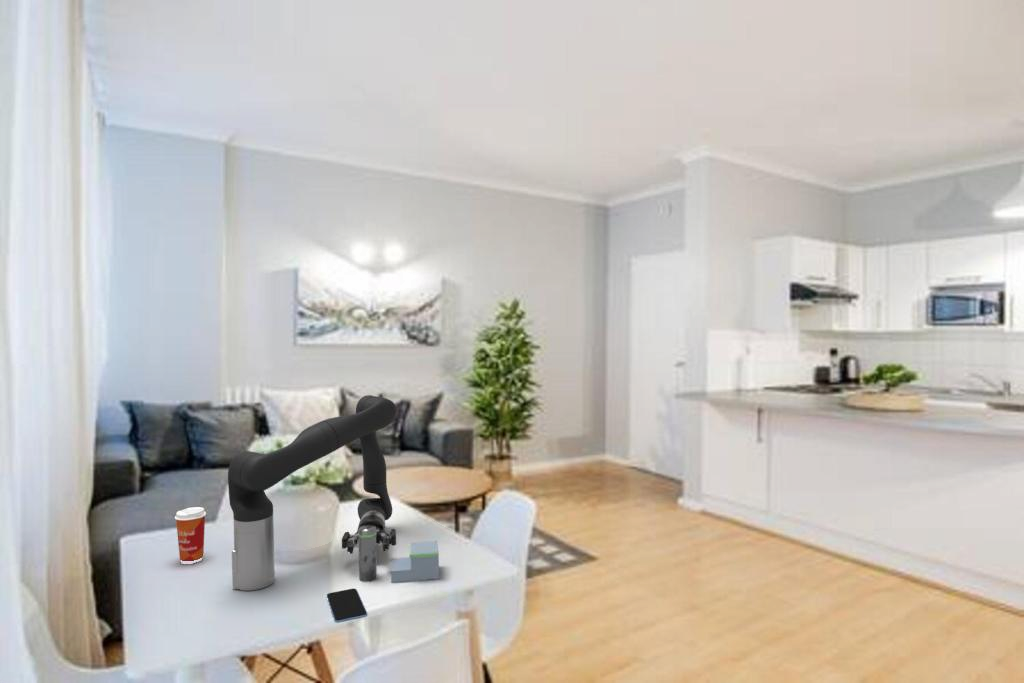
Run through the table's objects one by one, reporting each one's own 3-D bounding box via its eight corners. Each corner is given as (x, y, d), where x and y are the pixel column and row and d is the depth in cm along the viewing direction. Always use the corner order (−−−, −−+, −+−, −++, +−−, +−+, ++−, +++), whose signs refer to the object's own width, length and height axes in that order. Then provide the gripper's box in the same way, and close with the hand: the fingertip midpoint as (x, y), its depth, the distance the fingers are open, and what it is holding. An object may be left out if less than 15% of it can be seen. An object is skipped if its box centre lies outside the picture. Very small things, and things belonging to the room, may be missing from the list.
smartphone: (356, 587, 148) (368, 614, 134) (356, 590, 148) (368, 617, 134) (325, 593, 145) (334, 621, 131) (325, 596, 145) (334, 625, 131)
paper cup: (169, 563, 163) (168, 513, 163) (193, 553, 170) (192, 505, 170) (190, 568, 160) (188, 516, 160) (214, 557, 167) (212, 508, 167)
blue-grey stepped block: (391, 583, 150) (390, 556, 150) (392, 569, 159) (391, 543, 158) (438, 579, 152) (438, 552, 152) (437, 566, 161) (437, 540, 160)
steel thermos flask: (358, 582, 151) (357, 531, 151) (359, 574, 156) (358, 525, 155) (376, 581, 152) (375, 530, 151) (377, 573, 156) (376, 524, 156)
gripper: (345, 516, 170) (339, 536, 154) (396, 513, 172) (395, 532, 156) (346, 542, 170) (339, 565, 154) (397, 538, 172) (395, 561, 156)
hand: (367, 548), depth 155 cm, fingers open, 8 cm apart
